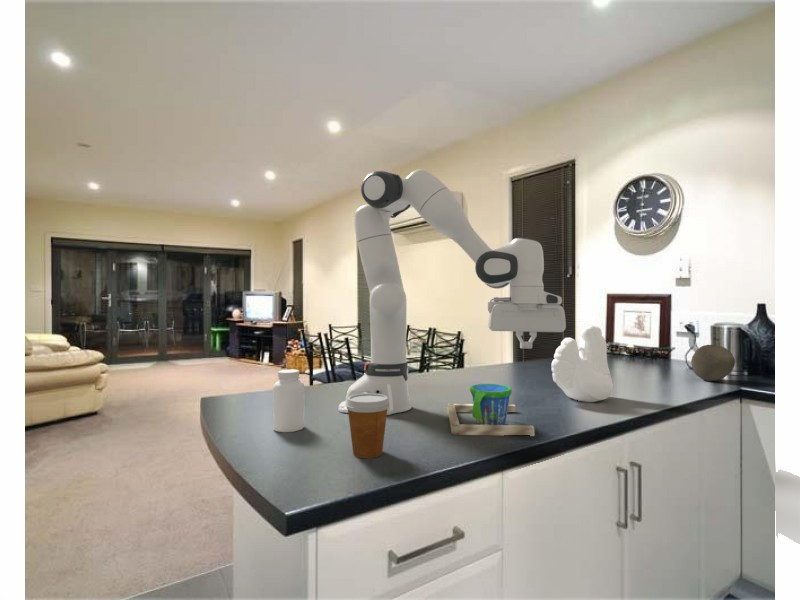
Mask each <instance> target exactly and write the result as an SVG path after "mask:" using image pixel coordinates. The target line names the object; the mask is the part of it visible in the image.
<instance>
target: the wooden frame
mask: <svg viewBox="0 0 800 600" xmlns="http://www.w3.org/2000/svg"><path fill="white" fill-rule="evenodd" d="M508 404H509V403H508ZM472 409H473V403H447V405H446V410H447V411H448V412H447V416H448V423H449V426H450V431H451V435H453V436H455V435H456V436H457V435H458V436H465V435H466V436H504V435H530V436H529V437H535V427H534V425H532V424H531V425H529V424H523V425H522V424H505V425H477V424H460V421H459V417H458V414H457V413H472ZM507 412H517V411H516V405H515V404H509V405H508V411H507Z"/></svg>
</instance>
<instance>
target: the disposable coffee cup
mask: <svg viewBox="0 0 800 600" xmlns="http://www.w3.org/2000/svg"><path fill="white" fill-rule="evenodd" d="M389 404H390V403H389V402H388V398H387V396H385V395H381V394H357V395H352V396H350V397H348V400H347V403H346V406H347V409H348V420H349V422H348V423H349V429H350V431H349V432H350V439H351V447H352V454H353V456H355V457H357V458H361V459H373V458H377V457H379V456H381V455H383V448H384V440H385V433H386V425H387V424H386V423H387V416H388V415H387V409H388V406H389Z"/></svg>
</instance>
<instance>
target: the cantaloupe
mask: <svg viewBox="0 0 800 600" xmlns="http://www.w3.org/2000/svg"><path fill="white" fill-rule="evenodd" d="M690 362H691V364H690V365H691V367H692V371H693V373H694V374H695V375H696V377H698V378H699V379H702V380H704V381H706V382H716V381H720V380H722V379H724V378H726V377H727V376H728V375H729V374H731V373H732V371H733V370H734V368H735V365H736V359H735V357H734V354H733V353H732V352H731V351H730V350H729V349H727V348H726V347H724V346H722V345H717V344H705V345H702V346H700V347H699V348H697V349H696V350H695V352H694V353H693V355H692V357H691V361H690Z"/></svg>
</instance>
